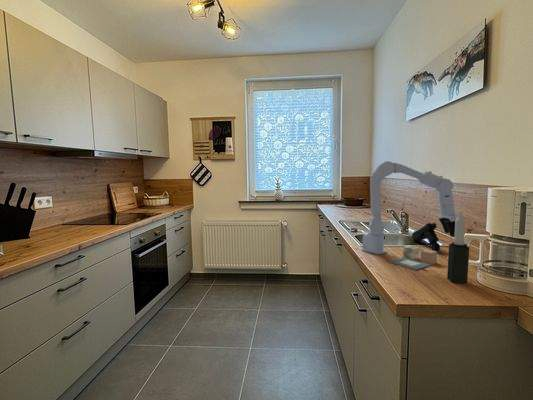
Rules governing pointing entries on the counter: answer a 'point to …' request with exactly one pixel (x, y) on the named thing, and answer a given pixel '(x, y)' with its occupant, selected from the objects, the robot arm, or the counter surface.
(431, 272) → the counter surface
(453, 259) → the black and grey bottle
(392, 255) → the counter surface
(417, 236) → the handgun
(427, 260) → the block brown
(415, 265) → the board
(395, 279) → the counter surface
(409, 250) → the block cream
